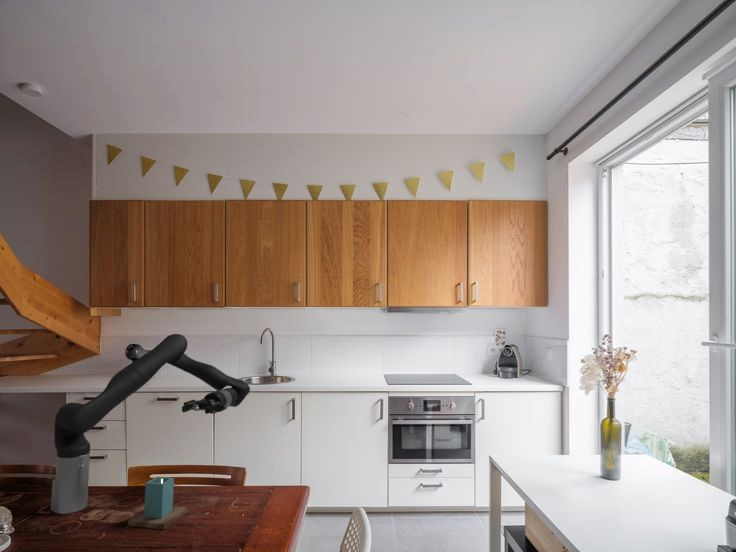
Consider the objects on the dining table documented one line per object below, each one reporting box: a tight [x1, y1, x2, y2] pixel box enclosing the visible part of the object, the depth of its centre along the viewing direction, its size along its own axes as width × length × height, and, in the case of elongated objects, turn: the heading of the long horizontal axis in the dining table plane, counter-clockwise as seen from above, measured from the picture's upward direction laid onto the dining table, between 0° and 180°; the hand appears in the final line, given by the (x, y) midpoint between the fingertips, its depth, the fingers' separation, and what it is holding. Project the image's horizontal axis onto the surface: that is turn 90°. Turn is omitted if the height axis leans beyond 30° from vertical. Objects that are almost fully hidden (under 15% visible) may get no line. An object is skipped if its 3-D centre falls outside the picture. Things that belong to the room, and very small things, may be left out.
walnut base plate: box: [127, 505, 188, 530], centre depth 147 cm, size 12×12×2 cm
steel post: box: [156, 478, 164, 484], centre depth 148 cm, size 2×2×10 cm
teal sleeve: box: [143, 476, 175, 519], centre depth 148 cm, size 6×6×10 cm
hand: (194, 410), depth 164 cm, fingers open, 8 cm apart
